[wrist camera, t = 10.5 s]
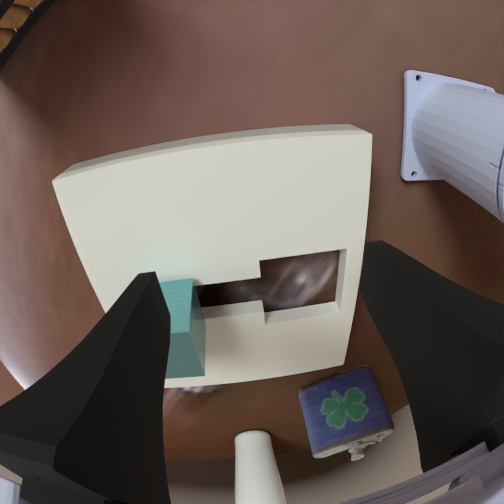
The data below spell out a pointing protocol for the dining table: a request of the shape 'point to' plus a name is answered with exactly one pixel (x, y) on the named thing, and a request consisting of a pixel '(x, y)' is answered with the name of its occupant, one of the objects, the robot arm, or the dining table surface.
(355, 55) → the dining table surface
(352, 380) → the flask
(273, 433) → the dining table surface
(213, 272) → the keyhole plate
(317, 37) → the dining table surface
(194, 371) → the peg
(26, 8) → the ammunition clip
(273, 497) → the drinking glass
